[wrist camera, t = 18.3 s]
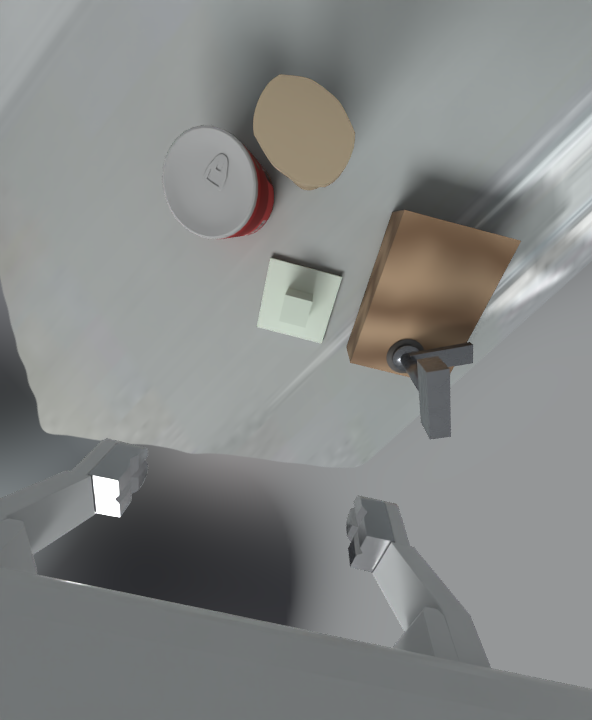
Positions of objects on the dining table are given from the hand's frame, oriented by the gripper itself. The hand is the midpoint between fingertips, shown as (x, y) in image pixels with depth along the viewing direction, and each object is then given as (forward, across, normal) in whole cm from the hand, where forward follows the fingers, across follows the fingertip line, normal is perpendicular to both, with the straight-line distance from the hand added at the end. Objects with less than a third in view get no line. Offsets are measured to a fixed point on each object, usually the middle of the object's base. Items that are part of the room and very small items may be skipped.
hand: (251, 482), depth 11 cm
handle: (+29, +2, -14) cm, 33 cm away
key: (+24, -16, +1) cm, 29 cm away
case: (+29, -14, -4) cm, 33 cm away
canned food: (+29, +9, -10) cm, 32 cm away
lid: (+30, 0, 0) cm, 30 cm away
